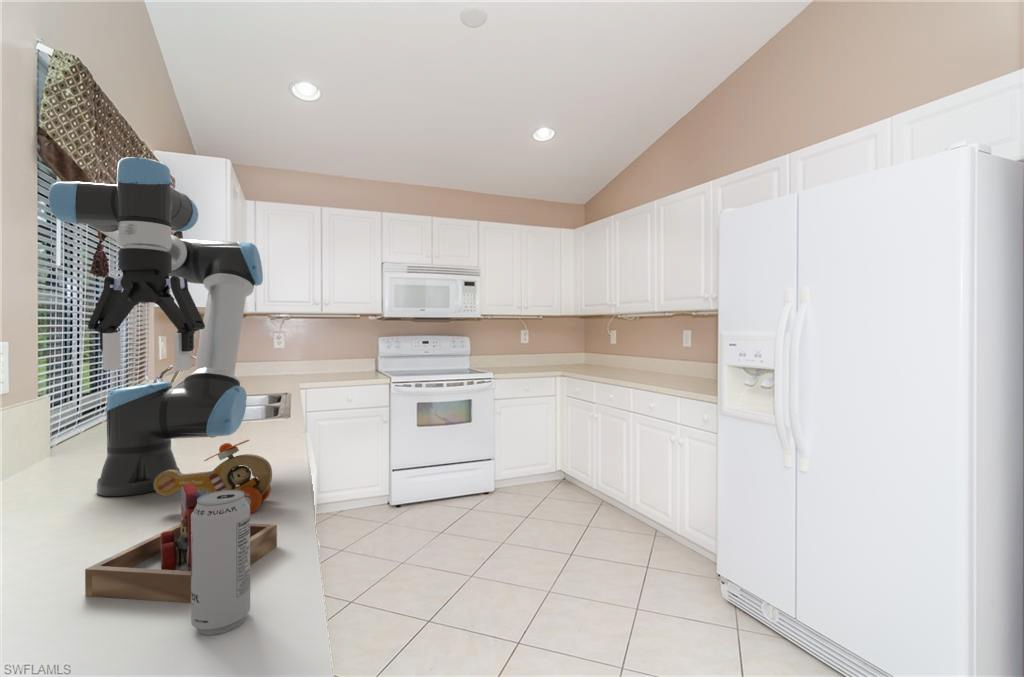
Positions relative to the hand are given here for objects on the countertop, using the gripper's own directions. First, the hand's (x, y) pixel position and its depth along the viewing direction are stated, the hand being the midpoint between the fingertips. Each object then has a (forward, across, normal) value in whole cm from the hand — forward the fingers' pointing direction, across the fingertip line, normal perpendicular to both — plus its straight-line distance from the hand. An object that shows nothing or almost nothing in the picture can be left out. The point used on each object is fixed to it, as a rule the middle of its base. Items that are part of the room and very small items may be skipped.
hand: (147, 370), depth 86 cm
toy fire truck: (+27, +19, -14) cm, 36 cm away
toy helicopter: (+28, +6, +10) cm, 31 cm away
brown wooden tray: (+28, +19, -14) cm, 36 cm away
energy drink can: (+28, +33, -26) cm, 50 cm away
